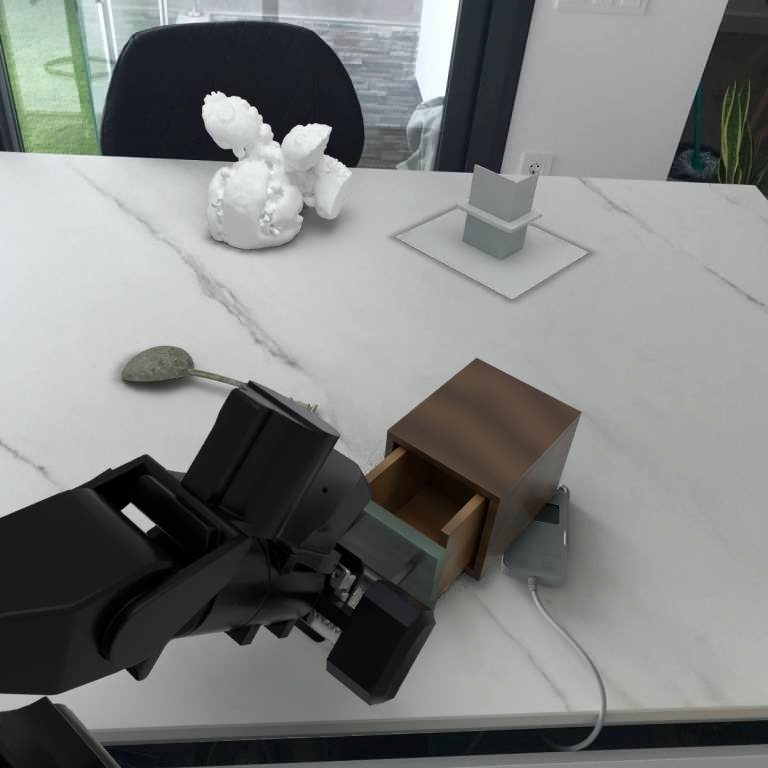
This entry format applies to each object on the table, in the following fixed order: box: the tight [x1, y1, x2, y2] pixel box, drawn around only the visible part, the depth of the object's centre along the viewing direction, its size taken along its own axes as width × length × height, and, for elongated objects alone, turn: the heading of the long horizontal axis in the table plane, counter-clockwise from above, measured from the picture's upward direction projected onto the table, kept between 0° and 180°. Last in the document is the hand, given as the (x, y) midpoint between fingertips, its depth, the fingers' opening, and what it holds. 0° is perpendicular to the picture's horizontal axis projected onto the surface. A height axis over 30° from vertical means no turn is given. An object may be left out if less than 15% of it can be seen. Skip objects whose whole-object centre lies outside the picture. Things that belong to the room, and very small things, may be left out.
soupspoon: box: [121, 345, 318, 414], centre depth 81 cm, size 22×3×7 cm
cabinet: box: [383, 357, 583, 582], centre depth 69 cm, size 14×11×11 cm
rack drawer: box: [338, 445, 490, 614], centre depth 63 cm, size 16×10×9 cm, turn 142°
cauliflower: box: [201, 90, 353, 251], centre depth 107 cm, size 19×20×20 cm
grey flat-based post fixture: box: [395, 164, 590, 300], centre depth 107 cm, size 19×21×12 cm
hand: (348, 571), depth 56 cm, fingers closed, pressing on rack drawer
